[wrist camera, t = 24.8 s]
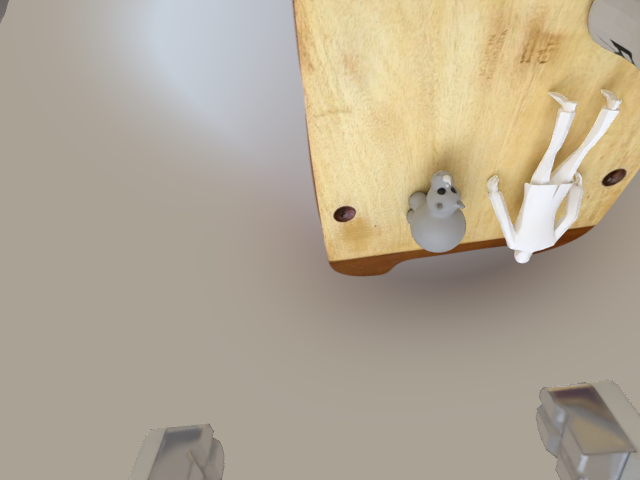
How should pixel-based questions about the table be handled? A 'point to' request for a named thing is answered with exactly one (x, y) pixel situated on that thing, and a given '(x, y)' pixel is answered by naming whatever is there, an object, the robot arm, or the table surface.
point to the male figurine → (551, 185)
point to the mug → (617, 27)
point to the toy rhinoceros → (437, 215)
